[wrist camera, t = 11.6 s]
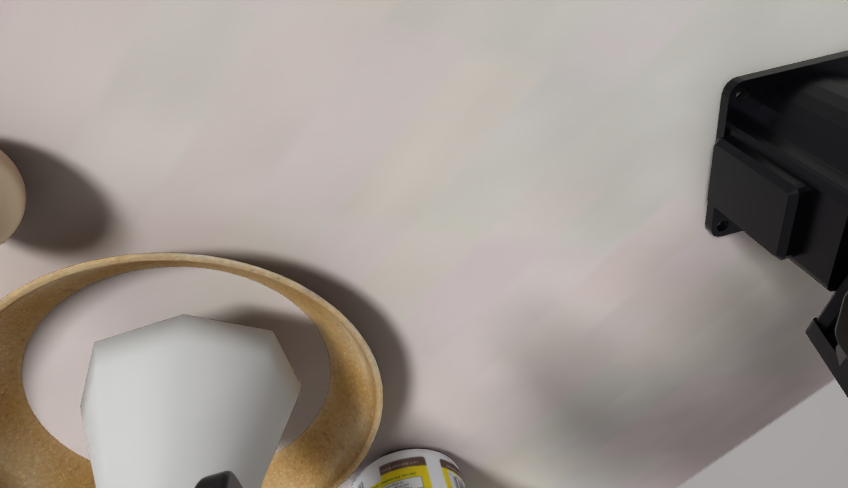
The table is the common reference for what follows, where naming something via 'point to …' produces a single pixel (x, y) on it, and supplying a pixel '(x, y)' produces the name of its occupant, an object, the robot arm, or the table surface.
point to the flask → (186, 403)
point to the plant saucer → (290, 467)
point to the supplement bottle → (411, 471)
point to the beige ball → (10, 197)
